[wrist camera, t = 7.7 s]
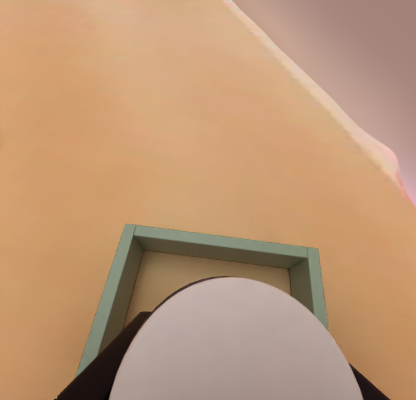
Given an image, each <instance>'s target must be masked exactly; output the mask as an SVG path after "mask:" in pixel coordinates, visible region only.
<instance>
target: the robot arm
mask: <svg viewBox="0 0 416 400" xmlns="http://www.w3.org/2000/svg"><path fill="white" fill-rule="evenodd" d="M150 314H151V312H140V313H139V314H138V315H137V316H136V317H135V318H134V319H133V320H132V321H131V322H130V323H129V324H128V325H127V326H126V327H125V328H124V329H123V330H122V331H121V332H120V333H119V334H118V335H117V336H116V337H115V338H114V339H113V340H112V341H111V342H110V343H109V344H108V345H107V346H106V348H105V349H104V350H103V351H102V352H101V353H100V354H99V355H98V356H97V357H96V358H95V359H94V360H93V361H92V362H91V363H90V364H89V365H88V366H87V367H86V368H85V369H84V370H83V371H82V372H81V373H80V374H79V375H78V376H77V377H76V378H75V379H74V380H73V381H72V382H71V383H70V384H69V385H68V386H67V387H66V388H65V389H64V390H63V391H62V392H61V393H60V394H59V395H58V396H57V399H54V400H109V397H110V394H111V390H112V387H113V384H114V381H115V377H116V374H117V372H118V369H119V367H120V365H121V362H122V360H123V358H124V355H125V353H126V352H127V350H128V347H129V345H130V344H131V342H132V340H133V338H134V336H135V334H136V333H137V331H138V329H139V328H140V327H141V325H142V324H143V322H144V321H145V319H146V318H147V317H148V316H149V315H150ZM348 364H349V363H348ZM349 365H350V367H351V369H352V371H353V374H354V376H355V379H356V381H357V383H358V386H359V388H360V391H361V394H362V397H363V400H390V399H389V398H388V397H387V396H385V395H384V394H383V393H382V392H381V391H380V390H379V389H378V388H376V387H375V386H374V385H373V384H372V383H371V382H370V381H369V380H367V379H366V378H365V377H364V376H363V375H362V374H361V373H360V372H358V371H357V370H356V369H355V368H354V367H353V366H352V365H351V364H349Z"/></svg>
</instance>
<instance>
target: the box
mask: <svg viewBox="0 0 416 400" xmlns="http://www.w3.org/2000/svg"><path fill="white" fill-rule="evenodd" d="M143 250H149V251H157V252H164V253H172V254H180V255H187V256H195V257H203V258H210V259H218V260H226V261H233V262H241V263H249V264H256V265H264V266H272V267H279V268H287V269H289V268H290V284H291V296H292V297H293V298H295V299H296V300H297V301H299V302H300V303H301V304H302V305H303V306H305V307H306V308H307V309H308V310H309V311H310V312H311V313H312V314H313V315H314V316H315V317H316V318H317V319H318V320H319V321H320V322H321V323H322V324H323V326H324V327H325V328H326V329H327V331H328V332H329V329H328V321H327V314H326V306H325V298H324V290H323V282H322V275H321V267H320V259H319V251H318V248H311V247H303V246H295V245H288V244H280V243H272V242H264V241H257V240H249V239H241V238H233V237H225V236H218V235H210V234H202V233H194V232H187V231H179V230H171V229H163V228H156V227H148V226H140V225H133V224H125V226H124V229H123V232H122V235H121V238H120V242H119V245H118V248H117V251H116V254H115V257H114V260H113V263H112V266H111V269H110V272H109V275H108V278H107V281H106V285H105V288H104V291H103V294H102V297H101V300H100V303H99V306H98V309H97V312H96V315H95V318H94V321H93V324H92V328H91V331H90V334H89V337H88V340H87V343H86V346H85V349H84V352H83V355H82V358H81V361H80V364H79V367H78V371H77V374H76V377H77V376H78V375H79V374H80V373H81V372H82V371H83V370H84V369H85V368H86V367H87V366H88V365H89V364H90V363H91V362H92V361H93V360H94V359H95V358H96V357H97V356H98V355H99V354H100V353H101V352H102V351H103V350H104V349H105V348H106V346H107V345H108V344H109V343H110V342H111V341H112V340H113V339H114V338H115V337H116V336H117V335H118V334H119V333H120V332H121V331H122V329H123V326H124V322H125V318H126V314H127V310H128V307H129V303H130V299H131V295H132V292H133V288H134V284H135V280H136V277H137V273H138V269H139V265H140V261H141V258H142V254H143ZM76 377H75V378H76Z"/></svg>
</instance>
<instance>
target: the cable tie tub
mask: <svg viewBox="0 0 416 400" xmlns="http://www.w3.org/2000/svg"><path fill="white" fill-rule="evenodd" d="M109 400H363V397H362V394H361V391H360V388H359V386H358V383H357V381H356V379H355V376H354V374H353V371H352V369H351V367H350V365H349V364H348V362H347V360H346V358H345V356H344V354H343V352H342V351H341V349H340V348H339V346H338V345H337V343H336V342H335V340H334V338H333V337H332V336H331V334H330V333H329V332H328V331H327V329H326V328H325V327H324V326H323V324H322V323H321V322H320V321H319V320H318V319H317V318H316V317H315V316H314V315H313V314H312V313H311V312H310V311H309V310H308V309H307V308H306V307H305V306H303V305H302V304H301V303H300V302H299V301H297V300H296V299H295V298H293V297H292V296H290V295H288V294H287V293H285V292H284V291H282V290H280V289H278V288H276V287H274V286H272V285H269V284H266V283H263V282H260V281H257V280H252V279H247V278H241V277H232V276H220V277H211V278H206V279H201V280H199V281H196V282H193V283H190V284H188V285H186V286H184V287H182V288H180V289H179V290H177V291H175V292H174V293H173V294H171V295H170V296H168V297H167V298H166V299H165V300H164V301H162V302H161V303H160V304H159V305H158V306H157V307H156V308H155V309H154V310H153V311H152V312H151V314H150V315H149V316H148V317H147V318H146V319H145V321H144V322H143V324H142V325H141V327H140V328H139V329H138V331H137V333H136V334H135V336H134V338H133V340H132V342H131V344H130V345H129V347H128V350H127V352H126V353H125V355H124V358H123V360H122V362H121V365H120V367H119V369H118V372H117V374H116V377H115V381H114V384H113V387H112V390H111V394H110V397H109Z"/></svg>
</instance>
